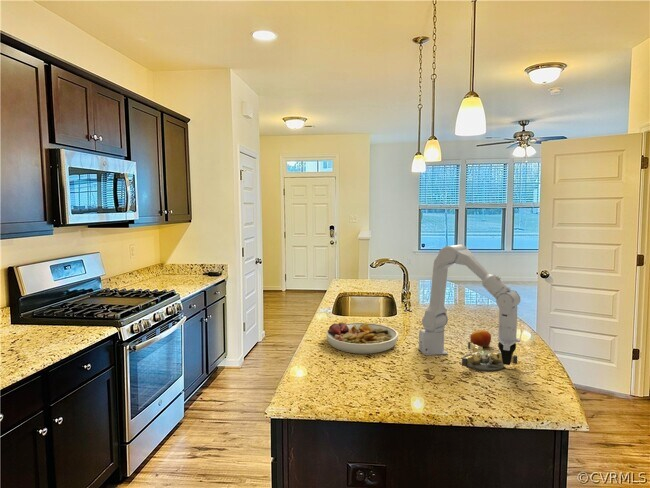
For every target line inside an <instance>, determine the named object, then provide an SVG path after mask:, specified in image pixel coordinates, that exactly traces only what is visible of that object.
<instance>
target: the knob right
mask: <svg viewBox="0 0 650 488" xmlns="http://www.w3.org/2000/svg"><path fill="white" fill-rule="evenodd" d="M490 355H491V362H493V363H497V364H499V363H502V362H503V361H502V355H501V351H498V350H497V351H491V352H490ZM510 364H515V365H518V355H515V354H514V355H512V358H511V363H510Z"/></svg>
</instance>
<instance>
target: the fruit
mask: <svg viewBox="0 0 650 488" xmlns="http://www.w3.org/2000/svg"><path fill="white" fill-rule="evenodd" d="M469 338H470V342H472V343H473V344H474V345H477V346H481V347H483V348H490V344H491V341H492V335H491V333H490V332H489V331H488V330H485V329H478V330H474V331H473V332H472V333H471V334H470V337H469Z"/></svg>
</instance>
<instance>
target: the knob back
mask: <svg viewBox="0 0 650 488" xmlns="http://www.w3.org/2000/svg"><path fill="white" fill-rule="evenodd" d="M467 349H468V350H470V351H472V352H477V351H484V350H483V349H484V347H481V346H477V345H474V344H473V343H472V342H471V341H468V342H467Z"/></svg>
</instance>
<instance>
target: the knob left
mask: <svg viewBox="0 0 650 488" xmlns="http://www.w3.org/2000/svg"><path fill="white" fill-rule="evenodd" d="M463 357H464V356H463ZM463 357H462V358H461V366H464V367H467V365H469V364H481V354H480V353H477V352H470V356H468V357H464V358H463Z"/></svg>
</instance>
